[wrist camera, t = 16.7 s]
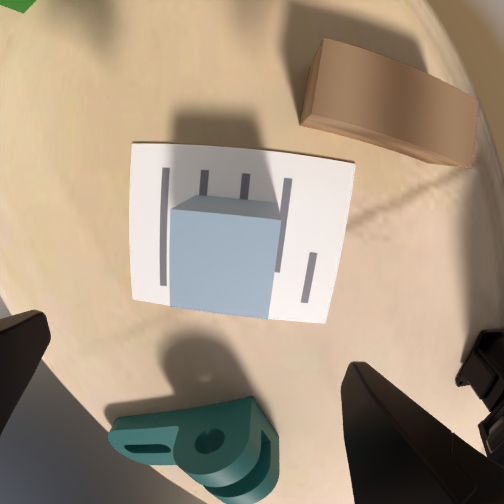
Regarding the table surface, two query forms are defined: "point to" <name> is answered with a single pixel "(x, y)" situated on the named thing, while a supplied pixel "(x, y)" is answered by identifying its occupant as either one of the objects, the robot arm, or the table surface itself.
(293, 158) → the letter
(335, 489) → the table surface
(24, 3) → the hardback book
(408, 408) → the robot arm
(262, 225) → the cube
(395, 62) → the walnut block
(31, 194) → the table surface
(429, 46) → the table surface
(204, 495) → the table surface
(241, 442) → the bracket
